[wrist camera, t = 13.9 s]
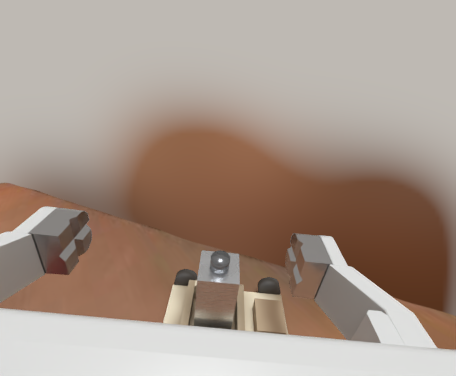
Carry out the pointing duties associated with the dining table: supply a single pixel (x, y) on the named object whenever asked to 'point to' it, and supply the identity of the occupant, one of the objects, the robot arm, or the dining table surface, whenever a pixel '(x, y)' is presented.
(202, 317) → the silver tall block
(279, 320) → the chassis
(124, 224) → the dining table surface
